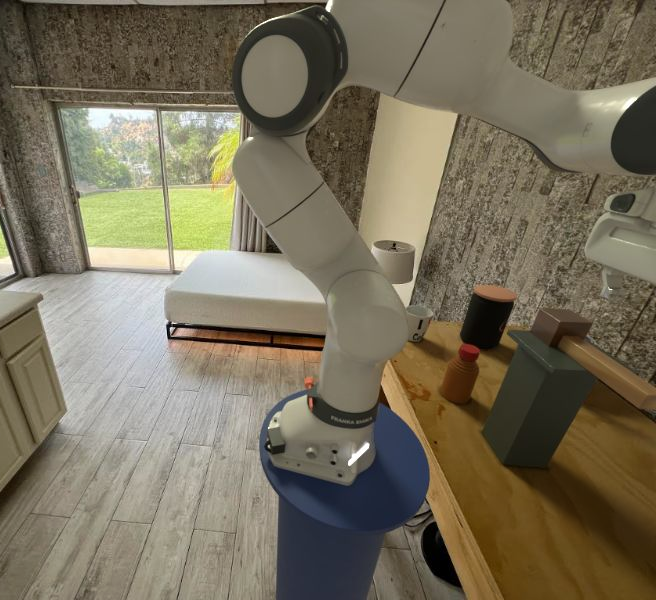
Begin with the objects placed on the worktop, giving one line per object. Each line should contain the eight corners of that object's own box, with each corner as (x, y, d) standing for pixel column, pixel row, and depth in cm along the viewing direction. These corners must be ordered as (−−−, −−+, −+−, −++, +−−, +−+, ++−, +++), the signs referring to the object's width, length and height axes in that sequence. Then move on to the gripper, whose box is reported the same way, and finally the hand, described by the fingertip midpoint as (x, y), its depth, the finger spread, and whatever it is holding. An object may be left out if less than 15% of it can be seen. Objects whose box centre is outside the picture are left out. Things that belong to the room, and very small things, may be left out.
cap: (472, 351, 77) (474, 344, 76) (480, 361, 74) (483, 353, 73) (454, 350, 78) (457, 343, 77) (462, 360, 74) (465, 352, 73)
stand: (500, 477, 61) (554, 369, 49) (469, 428, 71) (507, 329, 60) (568, 483, 60) (639, 373, 48) (526, 432, 70) (576, 332, 59)
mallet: (628, 408, 42) (647, 378, 40) (529, 331, 59) (539, 308, 57) (670, 411, 41) (692, 381, 39) (558, 332, 59) (569, 309, 57)
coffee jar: (499, 355, 96) (520, 302, 88) (458, 345, 101) (474, 294, 93) (496, 338, 104) (514, 288, 96) (458, 330, 109) (473, 282, 101)
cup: (412, 346, 101) (419, 319, 96) (394, 334, 108) (399, 308, 103) (431, 341, 103) (439, 314, 99) (412, 329, 110) (418, 303, 106)
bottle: (446, 403, 78) (461, 357, 73) (436, 385, 84) (449, 342, 78) (474, 404, 78) (491, 359, 72) (461, 387, 84) (476, 343, 78)
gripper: (896, 228, 26) (778, 364, 32) (645, 195, 44) (600, 285, 50) (808, 228, 27) (708, 361, 33) (596, 195, 45) (558, 284, 51)
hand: (641, 314), depth 42 cm, fingers open, 8 cm apart
